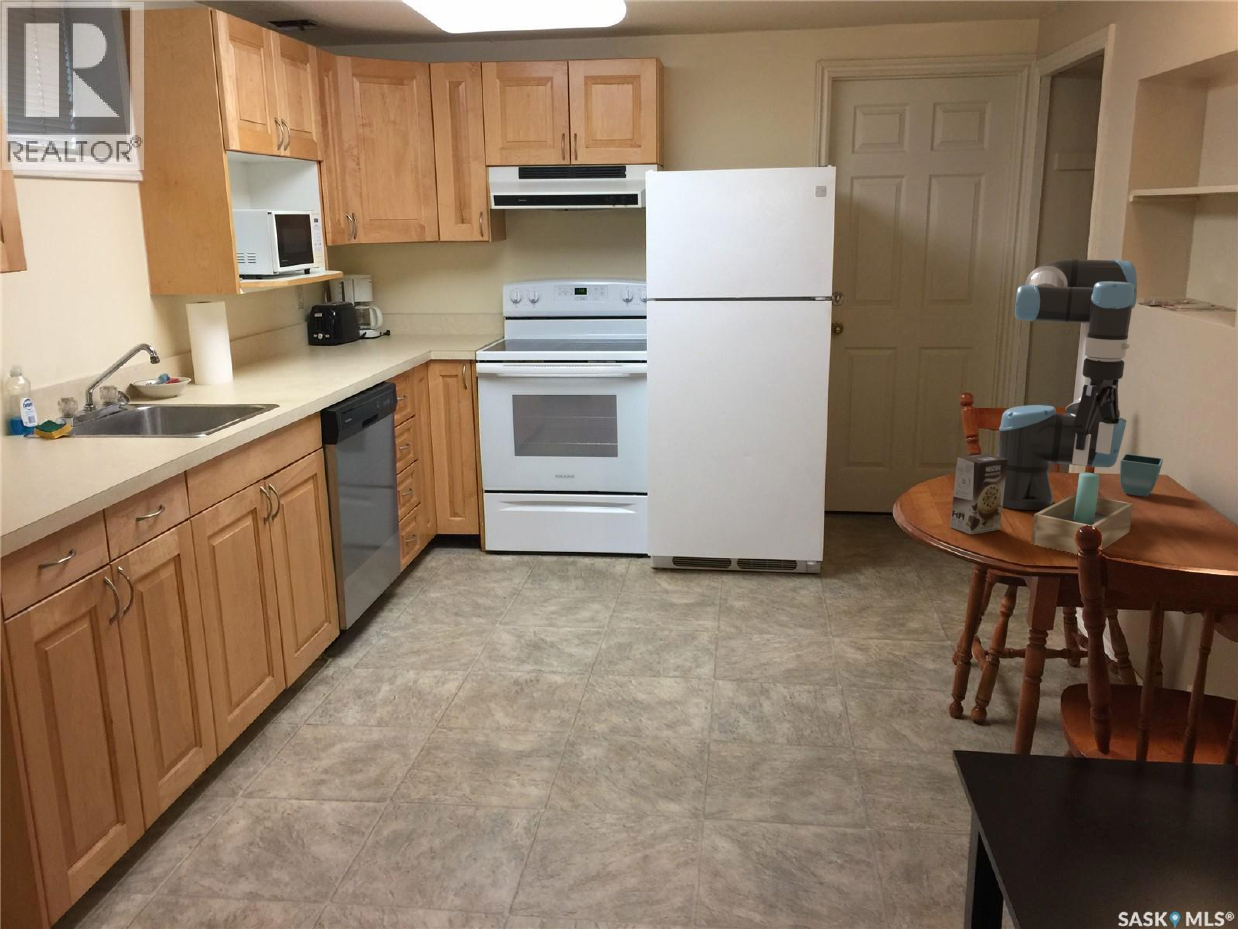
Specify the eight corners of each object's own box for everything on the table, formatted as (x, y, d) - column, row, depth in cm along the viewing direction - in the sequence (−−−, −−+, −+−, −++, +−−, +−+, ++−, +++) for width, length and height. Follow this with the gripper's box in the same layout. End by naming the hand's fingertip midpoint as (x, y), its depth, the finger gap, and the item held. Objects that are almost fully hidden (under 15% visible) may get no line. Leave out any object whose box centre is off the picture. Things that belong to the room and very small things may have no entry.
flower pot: (1158, 492, 248) (1163, 457, 246) (1155, 500, 241) (1160, 465, 239) (1119, 487, 253) (1124, 453, 250) (1115, 495, 245) (1120, 460, 243)
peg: (1068, 538, 212) (1076, 475, 208) (1075, 534, 214) (1083, 471, 211) (1087, 542, 209) (1096, 478, 205) (1094, 538, 212) (1102, 475, 208)
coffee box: (971, 535, 213) (978, 462, 209) (949, 527, 218) (955, 456, 214) (1001, 530, 217) (1009, 458, 213) (978, 522, 222) (986, 452, 218)
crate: (1030, 544, 207) (1034, 514, 206) (1072, 520, 224) (1076, 492, 222) (1090, 557, 199) (1094, 527, 198) (1129, 532, 216) (1133, 503, 214)
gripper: (1102, 367, 191) (1088, 473, 197) (1143, 353, 208) (1129, 451, 214) (1062, 363, 196) (1050, 466, 202) (1106, 350, 213) (1093, 445, 219)
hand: (1091, 458), depth 208 cm, fingers open, 13 cm apart
